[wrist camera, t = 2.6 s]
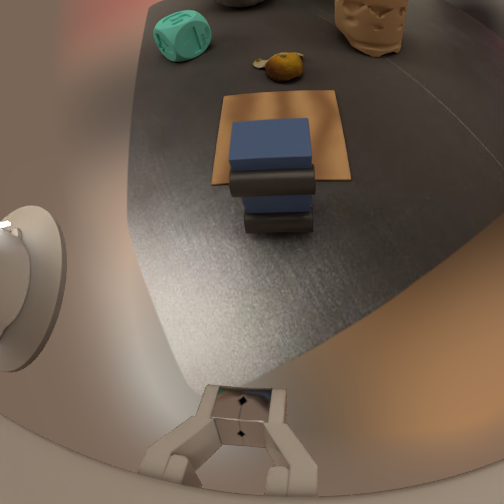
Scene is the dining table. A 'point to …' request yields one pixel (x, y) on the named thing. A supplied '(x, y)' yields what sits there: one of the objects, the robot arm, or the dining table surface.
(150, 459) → the robot arm
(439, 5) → the dining table surface
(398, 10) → the container
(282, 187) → the toy car
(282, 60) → the fruit
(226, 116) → the brown flat square board
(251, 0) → the cup
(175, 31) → the decorative dice
